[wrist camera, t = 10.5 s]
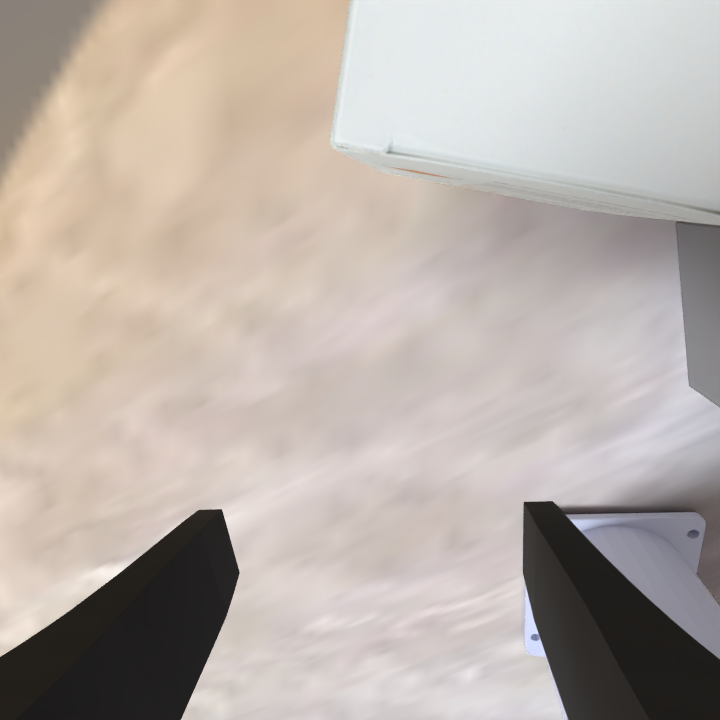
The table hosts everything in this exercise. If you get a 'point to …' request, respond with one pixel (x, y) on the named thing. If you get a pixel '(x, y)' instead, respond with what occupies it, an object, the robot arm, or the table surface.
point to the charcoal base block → (701, 304)
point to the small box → (540, 100)
